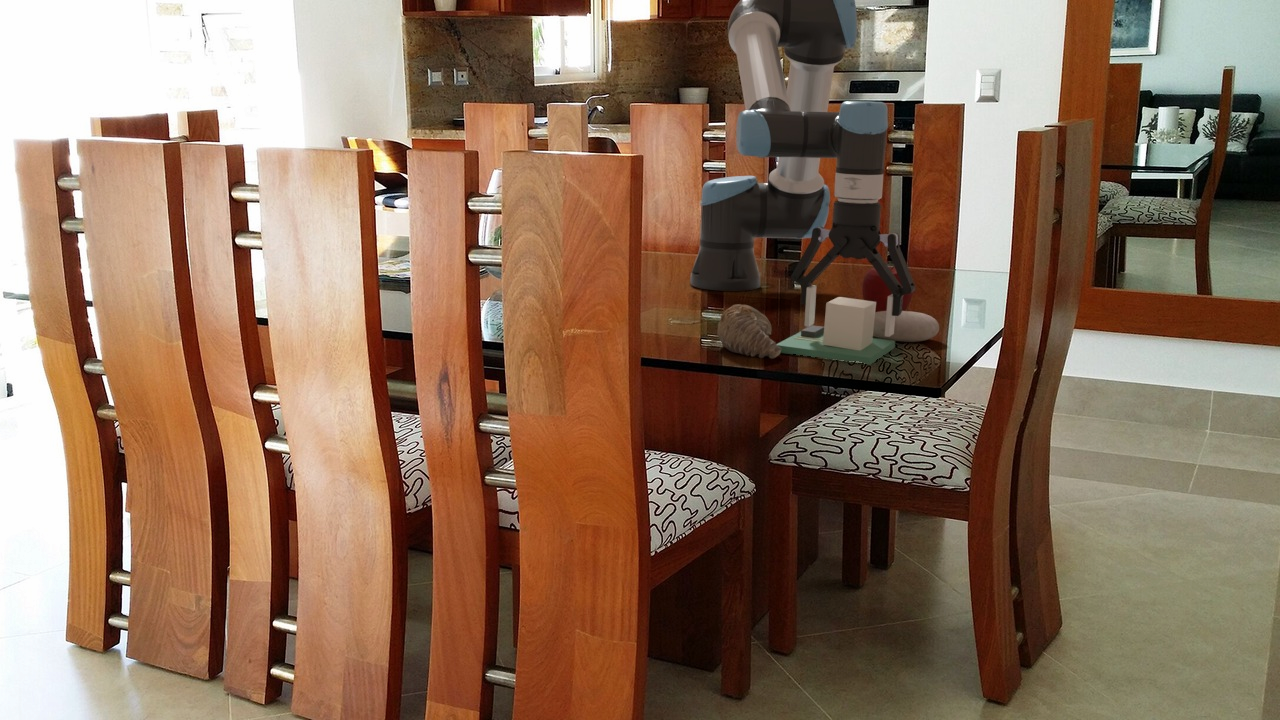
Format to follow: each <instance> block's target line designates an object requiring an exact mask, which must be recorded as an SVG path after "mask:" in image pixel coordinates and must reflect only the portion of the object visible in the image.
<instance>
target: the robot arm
mask: <svg viewBox="0 0 1280 720" xmlns="http://www.w3.org/2000/svg"><path fill="white" fill-rule="evenodd" d="M855 1H856V0H739V1H738V3H736V5H735V7H734V8H733V10H732V12H731V14H730V16H729V20H728V23H727V37H728V42H729V45H730V48H731V50H732V51H733V52H734V53H735V54H736V59H737V67H738V72H739V77H740V83H741V90H742V96H743V103H744V109H745V110H742V111H741V112H739V114H738V115H737V116H738V117H737V121H736V132H735V133H736V134H735V135H736V136H735V137H736V149H737V152H738V153H739V154H740V155H742V156H745V157H746V156H747V157H758V158H759V159H762V158H778V160H777V167H776V168H774V169H773V170H772V171H770V173H769V174H768V182H759V181H758V179H757V177H756V176H754V175H736V176H728V177H720V178H715V179H711V180H707V181H706V182H705V183H704V184H703V186H702V189H701V200H700V202H699V204H700V206H701V209H700V226H699V227H700V232H699V249H698V252H697V256H696V258H695V262H694V265H693V266H692V270H691V272H690V279H689V281H690V286H692V287H694V288H698V289H704V290H710V291H719V292H722V291H723V292H725V291H726V292H739V291H740V292H741V291H742V292H743V291H751V290H757V289H759V288H760V287H761V274H760V270H759V266H758V263H757V259H756V255H755V251H754V248H755V247H754V246H755V245H754V244H755V238H756V239H757V238H761V239H763V238H765V239H766V238H768V239H770V238H771V239H795V240H801V239H810V242H809V243H808V245H807V247H806V249H805V250H804V252H803V254H802V255H801V258H800V259H799V262H798V263H797V265H796V266H795V268H794V270H793V272H792V273H791V275H790V280H791V282H794V283H797V284H799V285H800V287H801V288H800V304H801V306H805V311H804V325H803V326H804V327H809V326H811V325H813V326H814V324H815V316H816V304H817V303H816V300H817V299H816V298H817V285H813V284H814V282H815V281H816V280H817V278H818V277H820V275H822V273H823V272H824V271H825V270H826V269H827V268H828V267H829V266H830V265H831V264H832V263H833V262H834V261H835V260H836V259H837V258H838V257H839V256H840V257H842V258H843V259H850V258H852V259H855V260H863V259H866V260H867V262H868V263H870V264H871V265H872V268H873V267H874V268H875V270H876V271H877V273H878V274H879V275H880V277H881V278H882V280H883V281H884V282H885V284H886V285H887V287H888V288H889V290H890V291H891V292H892V294H891V295H889V296H888V300H887V312H886V325H885V336H887V337H890V336H891V335H893V334H894V326H895V316H899V315H900V314H901V312H902V303H903V296H904V295H905V294H910V293H911V292H913V293H914V292H915V291H916V285H915V282H914V279H913V276H912V275H911V272H910V269H909V267H908V264H907V261H906V259H905V257H904V255H903V252H902V250H901V247H900V235H899V233H898V232H892V233H888V234H886V233H883V234H882V233H881V229H880V226H881V213H882V204H881V202H880V201H879V200H880V199H882V198H883V186H884V185H883V184H884V168H885V159H886V145H887V132H888V128H889V121H888V118H889V117H888V112H889V111H888V109H889V108H888V106H887V104H886V103H885V102H883V101H865V100H864V101H863V100H862V101H860V100H859V101H858V100H851V101H850V100H847V101H843V102H842V103H841V105H840V108H839V111H828V109H829V104H830V103H829V102H830V96H831V90H832V83H833V82H832V81H833V76H834V70H835V66H837V65H839V63H841V62H843V60H844V55H845V50H851V49H853V48H854V47H855V45H856V42H857V37H858V35H857V34H858V17H857V8H856V7H857V6H856V2H855ZM779 47H780V48H783V49H784V50H783V55H784V56H785V58H786V59H787V60H788V61H789V71H788V78H787V79H788V80H787V87H786V81H785V80H786V79H785V75H784V71H783V70H784V69H783V66H782V60H781V56H780V51H779ZM821 159H836V167H835V176H834V177H835V178H834V197H835V198H837V200H835V201H834V202H833V207H832V209H833V210H832V223H831V224H832V225H831V229H827V228H824V227H825V226H826V223H827V219H828V216H829V210H830V207H829V205H830V201H831V194H830V193H831V192H830V188H829V186H828V185H827V184H825V180H824V178H823V176H822V175H821V174H820V173H819V171H820V170H819V169H820V163H821ZM827 239H829V241H830V242H831V244H832V247H831V248H830V250H828V251H827V252H826V254H825V256H823V257H822V258H821V260H820V261H818V263H817V264H816V265H815V266H814V267H813V268H812V269H811V270H810V271H809V272H808V273H807V274H806V272H807V270H808V268H809V267H810V264H811V263H812V261H813V259H814V258H815V255H816V254H817V252H818V250H819V248H820V247H821V245H822V243H823V242H824V241H826V240H827ZM881 242H882V243H883V247H885V248H886V249H887V250H888V254H889V256H890V259H891V261H892V264H893V266H894V267H895V269H896V272H897V274H898V277H899V279H900V282H901V284H902V286H901V284H900V283H899V282H898V280H897V279H896V277H895V276H894V274H893V273H892V272H891V270H890V269H889V267H890V266H888V264H887V263H886V261H885V260H884V258H883V257H882V255H881V253H880V251H879V250H878V249H877V247H878V245H880V244H881ZM805 274H806V275H805Z"/></svg>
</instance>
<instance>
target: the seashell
mask: <svg viewBox="0 0 1280 720" xmlns="http://www.w3.org/2000/svg"><path fill="white" fill-rule="evenodd" d="M772 331H773V329H772V324H771V322H770V321H769V318H768V317H767V316H766V314H763V313H762V312H761V311H759V310H758V309H757V308H754V307H753V306H751V305H748V304H745V303H744V304H741V303H739V304H737V303H736V304H732V305H731V306H730V307H729V308H727V309H725V310H724V311H723V312H722V314H721V315H720V321H719V322H718V324H717V333H716V335H717V337H718V339H719V341H720V343H721V344H722V345H723V346H724V347H725V349H727V350H728V351H730V352H732V353H734V354H738V355H739V354H741V355H742V356H747V357H748V356H751V357H752V358H755V357H758V358H759V359H763V358H766V357H767V358H769V359H775V358H777V357H778V356H780V355H781V353H780V352H781V348H780V347H779V346H777V345H776V344H777V343H776V341H774V340H773V339H771V338H770V336H771V335H772Z"/></svg>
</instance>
